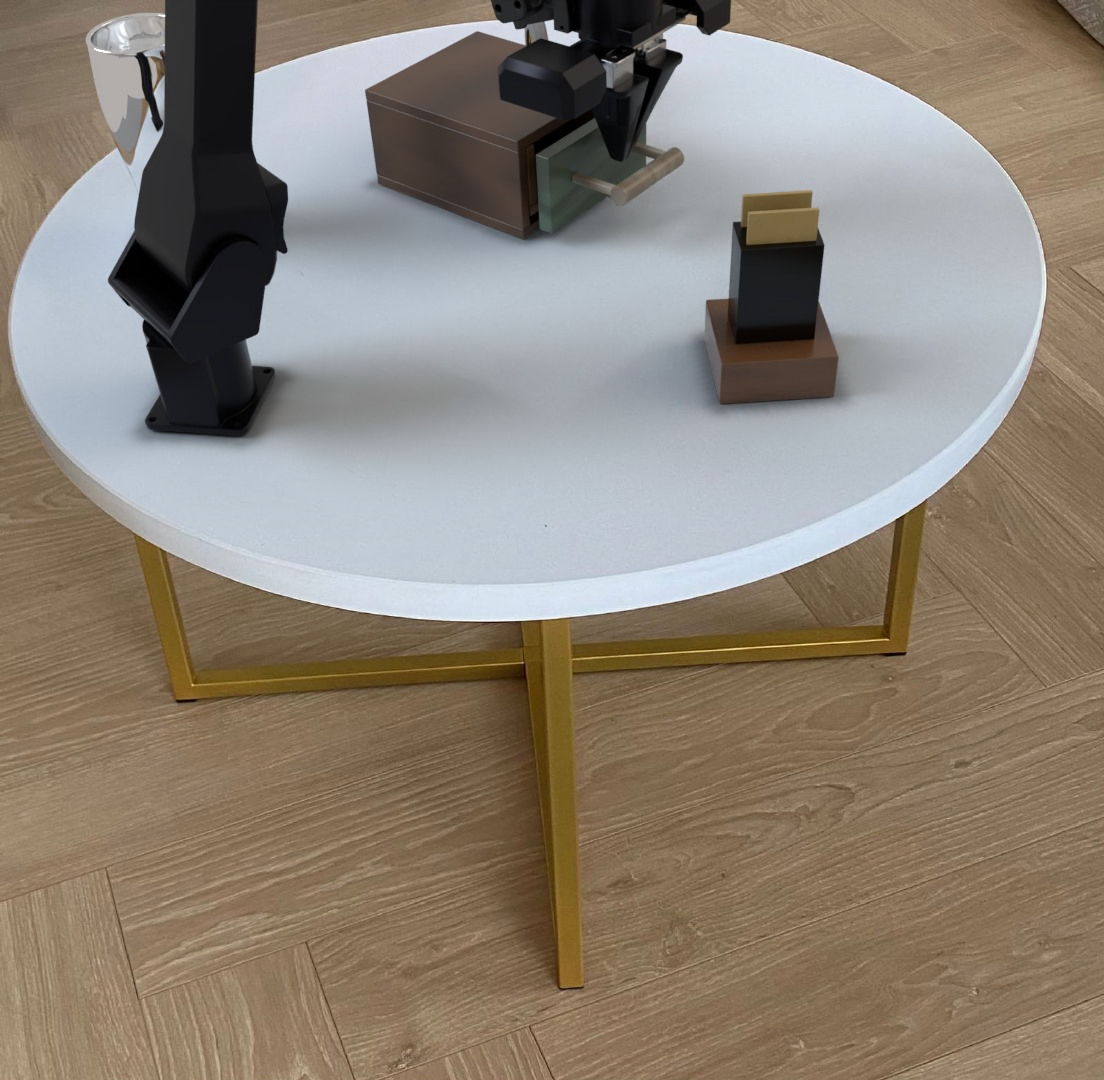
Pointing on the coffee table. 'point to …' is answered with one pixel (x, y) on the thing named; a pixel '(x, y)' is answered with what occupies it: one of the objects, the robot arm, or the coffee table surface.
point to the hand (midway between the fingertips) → (619, 158)
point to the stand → (768, 362)
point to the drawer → (587, 171)
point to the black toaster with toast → (775, 268)
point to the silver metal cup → (131, 83)
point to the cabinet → (458, 135)
